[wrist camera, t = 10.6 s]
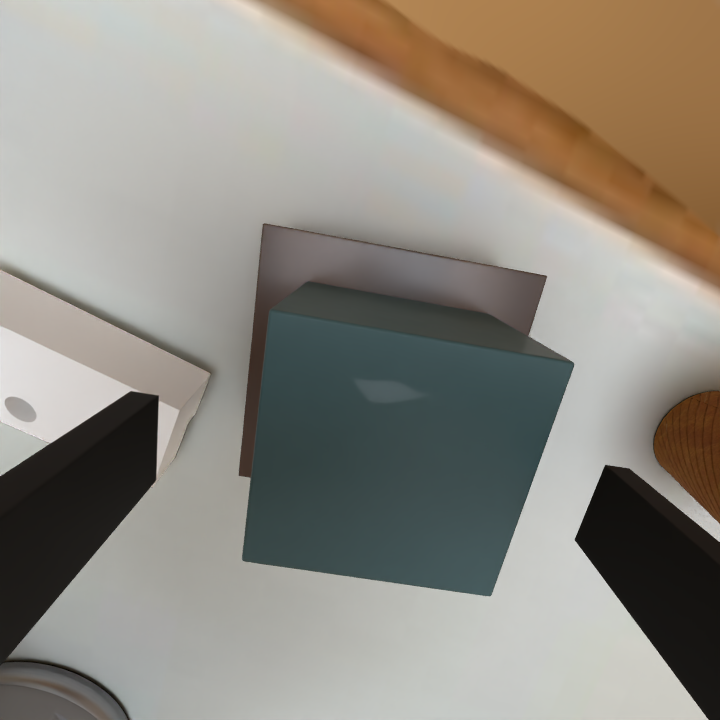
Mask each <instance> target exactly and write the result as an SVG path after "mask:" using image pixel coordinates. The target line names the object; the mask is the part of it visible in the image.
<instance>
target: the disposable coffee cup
mask: <svg viewBox="0 0 720 720" xmlns="http://www.w3.org/2000/svg"><path fill="white" fill-rule="evenodd" d="M654 452H655V455H656V458H657V460H658V462H659V463H660V465H661V466H662V467H663V468H664V469H665V470H666V471H667V472H668V473H669V474H670V475H671V476H672V477H673V478H674V479H675V480H676V481H677V482H678V483H679V484H680V485H681V486H682V487H683V488H684V489H685V490H686V491H687V492H688V493H689V494H690V495H691V496H692V497H693V498H695V500H696V501H697V502H698V503H699V504H700V505H702V506H703V507H704V508H705V509H706V510H707V511H708V512H709V514H710V515H711V516H712V517H713V518H714V519H715V520H717V521H718V522H719V523H720V391H710V392H705V393H700V394H697V395H694V396H692V397H689V398H688V399H686V400H684V401H683V402H681V403H680V404H678V405H677V406H675V407H674V408H673V409H672V410H671V411H670V412H669V413H668V414H667V415H666V416H665V418H664V419H663V420H662V422H661V424H660V426H659V427H658V429H657V432H656V435H655V440H654Z"/></svg>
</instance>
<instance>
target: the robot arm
mask: <svg viewBox="0 0 720 720" xmlns="http://www.w3.org/2000/svg"><path fill="white" fill-rule="evenodd" d="M158 408H159V395H153V394H146V393H140V392H134V391H130V392H128V393H127V394H125V395H124V396H122V397H121V398H119V399H118V400H116V401H115V402H113V403H112V404H110V405H109V406H107V407H106V408H104V409H103V410H101V411H99V412H98V413H96V414H95V415H93V416H92V417H90V418H89V419H87V420H86V421H84V422H83V423H81V424H80V425H78V426H77V427H75V428H74V429H72V430H70V431H69V432H67V433H66V434H64V435H63V436H61V437H60V438H58V439H57V440H55V441H54V442H52V443H51V444H49V445H48V446H46V447H45V448H43V449H41V450H40V451H38V452H37V453H35V454H34V455H32V456H31V457H29V458H28V459H26V460H25V461H23V462H22V463H20V464H19V465H17V466H16V467H14V468H12V469H11V470H9V471H8V472H6V473H5V474H3V475H2V476H0V720H128V719H127V717H126V715H125V713H124V712H123V710H122V709H121V707H120V706H119V705H118V704H117V702H116V701H115V700H114V699H113V698H112V697H111V696H110V695H109V694H108V693H106V692H105V691H104V690H103V689H101V688H100V687H99V686H97V685H96V684H94V683H92V682H91V681H89V680H87V679H85V678H83V677H81V676H79V675H77V674H75V673H72V672H70V671H67V670H64V669H61V668H58V667H54V666H50V665H45V664H39V663H31V662H6V663H3V662H4V661H5V660H6V659H7V657H8V656H9V655H10V654H11V653H12V651H13V650H14V649H15V648H16V647H17V645H18V644H19V643H20V642H21V641H22V639H23V638H24V637H25V636H26V635H27V634H28V632H29V631H30V630H31V629H32V628H33V626H34V625H35V624H36V623H37V622H38V620H39V619H40V618H41V617H42V616H43V615H44V613H45V612H46V611H47V610H48V609H49V607H50V606H51V605H52V604H53V603H54V601H55V600H56V599H57V598H58V597H59V595H60V594H61V593H62V592H63V591H64V590H65V588H66V587H67V586H68V585H69V584H70V582H71V581H72V580H73V579H74V578H75V576H76V575H77V574H78V573H79V572H80V570H81V569H82V568H83V567H84V566H85V565H86V563H87V562H88V561H89V560H90V559H91V557H92V556H93V555H94V554H95V553H96V551H97V550H98V549H99V548H100V547H101V546H102V544H103V543H104V542H105V541H106V540H107V538H108V537H109V536H110V535H111V534H112V532H113V531H114V530H115V529H116V528H117V526H118V525H119V524H120V523H121V522H122V521H123V519H124V518H125V517H126V516H127V515H128V513H129V512H130V511H131V510H132V509H133V507H134V506H135V505H136V504H137V503H138V501H139V500H140V499H141V498H142V497H143V496H144V494H145V493H146V492H147V491H148V490H149V488H150V487H151V486H152V485H153V484H154V482H155V481H156V471H157V440H158ZM575 541H576V542H577V544H578V545H579V546H580V548H581V549H582V550H583V552H584V553H585V554H586V556H587V557H588V558H589V560H590V561H591V562H592V564H593V565H594V566H595V568H596V569H597V570H598V572H599V573H600V574H601V576H602V577H603V578H604V580H605V581H606V583H607V584H608V585H609V587H610V588H611V589H612V591H613V592H614V593H615V595H616V596H617V597H618V599H619V600H620V601H621V603H622V604H623V605H624V607H625V608H626V609H627V611H628V612H629V613H630V615H631V616H632V617H633V619H634V620H635V621H636V623H637V624H638V625H639V627H640V628H641V630H642V631H643V632H644V634H645V635H646V636H647V638H648V639H649V640H650V642H651V643H652V644H653V646H654V647H655V648H656V650H657V651H658V652H659V654H660V655H661V656H662V658H663V659H664V660H665V662H666V663H667V664H668V666H669V667H670V668H671V670H672V671H673V672H674V674H675V675H676V677H677V678H678V679H679V681H680V682H681V683H682V685H683V686H684V687H685V689H686V690H687V691H688V693H689V694H690V695H691V697H692V698H693V699H694V701H695V702H696V703H697V705H698V706H699V707H700V709H701V710H702V711H703V713H704V714H705V715H706V717H707V718H708V719H709V720H720V542H719V541H717V540H716V539H715V538H714V537H712V536H711V535H710V534H709V533H708V532H706V531H705V530H704V529H703V528H701V527H700V526H699V525H698V524H697V523H695V522H694V521H693V520H692V519H690V518H689V517H688V516H687V515H685V514H684V513H683V512H682V511H681V510H679V509H678V508H677V507H676V506H674V505H673V504H672V503H671V502H670V501H668V500H667V499H666V498H665V497H663V496H662V495H661V494H660V493H659V492H657V491H656V490H655V489H654V488H652V487H651V486H650V485H649V484H648V483H646V482H645V481H644V480H643V479H641V478H640V477H639V476H638V475H637V474H635V473H634V472H633V471H632V470H630V469H628V468H622V467H616V466H609V465H605V467H604V469H603V472H602V474H601V477H600V479H599V482H598V484H597V486H596V489H595V491H594V494H593V496H592V499H591V501H590V504H589V506H588V508H587V511H586V513H585V516H584V518H583V521H582V523H581V526H580V528H579V531H578V533H577V535H576V538H575Z"/></svg>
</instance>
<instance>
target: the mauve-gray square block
mask: <svg viewBox="0 0 720 720" xmlns="http://www.w3.org/2000/svg"><path fill="white" fill-rule="evenodd" d="M546 278H547V276H545V275H540V274H534V273H529V272H524V271H519V270H513V269H508V268H503V267H498V266H492V265H487V264H482V263H476V262H471V261H465V260H460V259H455V258H449V257H444V256H438V255H433V254H428V253H422V252H417V251H411V250H406V249H401V248H395V247H390V246H384V245H379V244H374V243H368V242H363V241H358V240H352V239H347V238H341V237H336V236H331V235H325V234H320V233H314V232H309V231H304V230H298V229H293V228H287V227H282V226H276V225H270V224H263V229H262V239H261V250H260V260H259V270H258V281H257V291H256V301H255V312H254V322H253V332H252V343H251V353H250V363H249V374H248V384H247V394H246V405H245V415H244V425H243V436H242V446H241V456H240V467H239V476H244V477H250V478H251V472H252V463H253V454H254V444H255V435H256V426H257V417H258V408H259V399H260V390H261V380H262V371H263V362H264V353H265V344H266V335H267V325H268V316H269V311H270V309H272V308H273V307H274V306H276V305H277V304H278V303H279V302H281V301H282V300H283V299H285V298H286V297H287V296H289V295H290V294H291V293H293V292H294V291H295V290H297V289H298V288H299V287H301V286H302V285H303V284H305V283H306V282H308V281H310V282H315V283H321V284H326V285H332V286H337V287H343V288H348V289H354V290H359V291H365V292H371V293H376V294H382V295H387V296H393V297H398V298H404V299H409V300H415V301H420V302H426V303H432V304H437V305H443V306H448V307H454V308H459V309H465V310H470V311H476V312H482V313H487V314H490V315H492V316H494V317H495V318H497V319H499V320H500V321H502V322H504V323H506V324H507V325H509V326H511V327H513V328H514V329H516V330H518V331H520V332H521V333H523V334H525V335H527V336H529V332H530V329H531V326H532V323H533V320H534V317H535V313H536V310H537V307H538V304H539V301H540V297H541V294H542V291H543V288H544V285H545V282H546Z"/></svg>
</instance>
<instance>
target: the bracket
mask: <svg viewBox="0 0 720 720" xmlns="http://www.w3.org/2000/svg"><path fill="white" fill-rule="evenodd" d="M210 376H211V373H209V372H207V371H205V370H203V369H201V368H199V367H197V366H195V365H193V364H191V363H189V362H186V361H184V360H182V359H180V358H178V357H176V356H174V355H172V354H170V353H168V352H166V351H164V350H162V349H160V348H158V347H156V346H154V345H152V344H150V343H148V342H146V341H144V340H142V339H140V338H138V337H136V336H134V335H132V334H130V333H128V332H126V331H124V330H122V329H120V328H118V327H116V326H114V325H112V324H110V323H107V322H105V321H103V320H101V319H99V318H97V317H95V316H93V315H91V314H89V313H87V312H85V311H83V310H81V309H79V308H77V307H75V306H73V305H71V304H69V303H67V302H65V301H63V300H61V299H59V298H57V297H55V296H53V295H51V294H49V293H47V292H45V291H43V290H41V289H39V288H37V287H35V286H33V285H31V284H28V283H26V282H24V281H22V280H20V279H18V278H16V277H14V276H12V275H10V274H8V273H6V272H4V271H2V270H0V422H2V423H5V424H7V425H9V426H11V427H14V428H16V429H18V430H21V431H23V432H25V433H27V434H30V435H32V436H34V437H37V438H39V439H41V440H43V441H46V442H48V443H50V444H51V443H52V442H54V441H55V440H57V439H58V438H60V437H61V436H63V435H64V434H66V433H67V432H69V431H70V430H72V429H74V428H75V427H77V426H78V425H80V424H81V423H83V422H84V421H86V420H87V419H89V418H90V417H92V416H93V415H95V414H96V413H98V412H99V411H101V410H103V409H104V408H106V407H107V406H109V405H110V404H112V403H113V402H115V401H116V400H118V399H119V398H121V397H122V396H124V395H125V394H127V393H128V392H130V391H134V392H140V393H146V394H153V395H159V408H158V440H157V471H156V481H155V482H154V484H153V485H152V486H151V488H153V486H154V485H155V484H156V482H157V481H158V480H159V478H160V477H161V476H162V474H163V473H164V472H165V470H166V469H167V468H168V466H169V465H170V464H171V462H172V461H173V460H174V458H175V457H176V454H177V451H178V449H179V446H180V443H181V441H182V438H183V436H184V433H185V430H186V428H187V425H188V423H189V421H190V420H191V419H192V418H193V416H194V415H195V414H196V412H197V409H198V407H199V404H200V401H201V399H202V396H203V394H204V391H205V388H206V386H207V383H208V381H209V378H210Z"/></svg>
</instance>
